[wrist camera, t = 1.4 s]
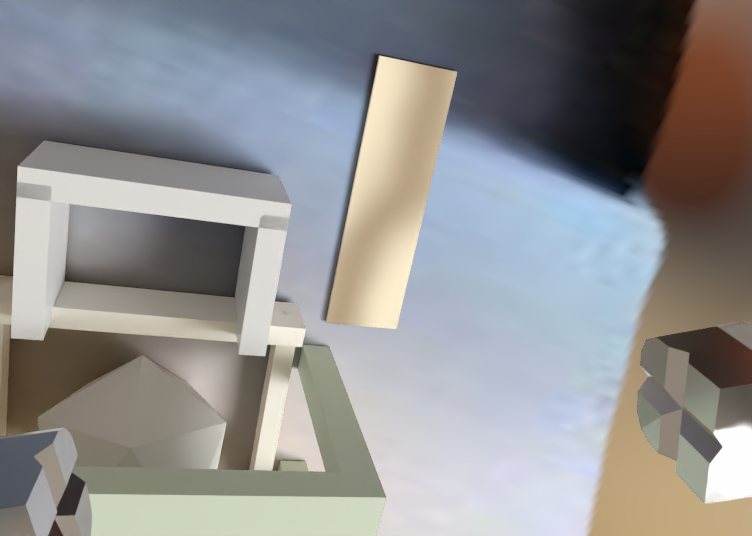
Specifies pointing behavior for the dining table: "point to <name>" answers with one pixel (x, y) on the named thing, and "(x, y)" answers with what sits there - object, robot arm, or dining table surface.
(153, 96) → the dining table surface
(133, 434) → the die
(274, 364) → the white low frame
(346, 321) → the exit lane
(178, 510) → the small green table
